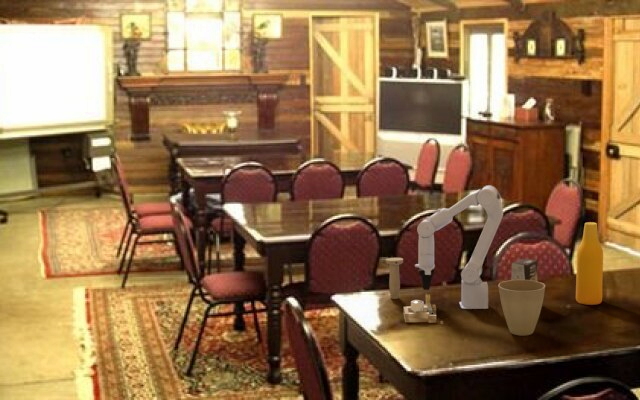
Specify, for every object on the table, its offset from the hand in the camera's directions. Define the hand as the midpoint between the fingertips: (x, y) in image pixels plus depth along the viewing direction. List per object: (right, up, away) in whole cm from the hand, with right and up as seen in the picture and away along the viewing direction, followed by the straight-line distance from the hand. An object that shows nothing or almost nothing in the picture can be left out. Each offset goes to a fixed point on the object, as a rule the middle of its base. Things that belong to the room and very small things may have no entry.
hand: (426, 289), depth 341 cm
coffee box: (+35, -6, -4) cm, 35 cm away
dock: (-4, -8, -16) cm, 18 cm away
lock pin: (0, -6, -10) cm, 11 cm away
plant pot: (+27, -11, -35) cm, 45 cm away
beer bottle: (+59, -5, -1) cm, 59 cm away
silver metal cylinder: (-5, -8, -18) cm, 20 cm away
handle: (-11, -4, +9) cm, 15 cm away
